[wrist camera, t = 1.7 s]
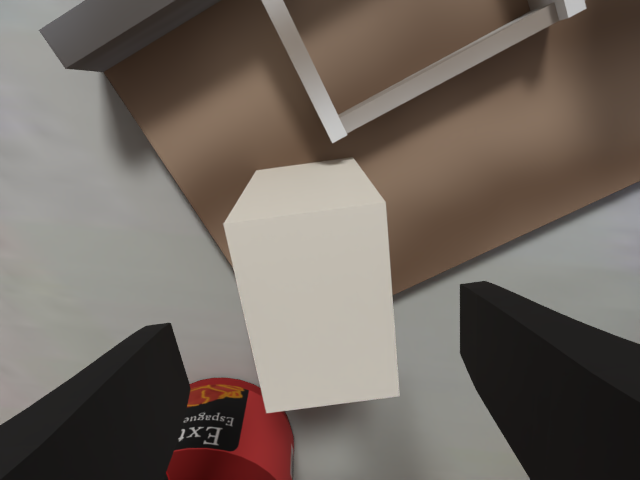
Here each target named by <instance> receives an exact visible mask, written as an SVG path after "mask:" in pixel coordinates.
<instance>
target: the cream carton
mask: <svg viewBox="0 0 640 480" xmlns="http://www.w3.org/2000/svg"><path fill="white" fill-rule="evenodd" d="M223 225H224V229H225V234H226V238H227V242H228V247H229V251H230V256H231V260H232V264H233V269H234V273H235V278H236V282H237V286H238V291H239V295H240V300H241V304H242V308H243V313H244V317H245V322H246V326H247V330H248V335H249V339H250V344H251V348H252V352H253V357H254V361H255V366H256V370H257V374H258V379H259V383H260V387H261V392H262V396H263V401H264V405H265V409H266V413H273V412H281V411H288V410H296V409H304V408H312V407H320V406H327V405H335V404H343V403H351V402H359V401H366V400H374V399H382V398H390V397H398V396H400V394H399V380H398V366H397V352H396V338H395V324H394V310H393V296H392V282H391V268H390V254H389V240H388V227H387V213H386V202H385V200H384V199H383V198H382V196H381V195H380V194H379V192H378V191H377V189H376V188H375V187H374V185H373V184H372V183H371V181H370V180H369V179H368V177H367V176H366V174H365V173H364V172H363V170H362V169H361V168H360V166H359V165H358V163H357V162H356V161H355V159H354V158H353V157H351V158H344V159H337V160H329V161H322V162H314V163H307V164H300V165H292V166H285V167H277V168H270V169H263V170H256V172H255V173H254V175H253V176H252V178H251V180H250V181H249V183H248V185H247V186H246V188H245V189H244V191H243V193H242V194H241V196H240V198H239V199H238V201H237V203H236V204H235V206H234V207H233V209H232V211H231V212H230V214H229V216H228V217H227V219H226V220H225V222H224V224H223Z"/></svg>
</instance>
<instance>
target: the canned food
mask: <svg viewBox="0 0 640 480" xmlns="http://www.w3.org/2000/svg"><path fill="white" fill-rule="evenodd" d="M190 388H191V390H190V395H189V400H188V405H187V410H186V414H185V418H184V422H183V426H182V430H181V433H180V435H179V438H178V441H177V444H176V447H175V449H174V452H173V455H172V458H171V460H170V463H169V466H168V469H167V471H166V474H165V477H164V479H163V480H293V462H294V438H293V434H292V430H291V427H290V424H289V421H288V418H287V415H286V413H285V411H281V412H273V413H266V409H265V405H264V401H263V396H262V392H261V388H259V387H257V386H256V385H254V384H251V383H248V382H245V381H242V380H238V379H231V378H210V379H205V380H200V381H197V382H194V383H192V384H190Z"/></svg>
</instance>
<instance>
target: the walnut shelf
mask: <svg viewBox="0 0 640 480" xmlns="http://www.w3.org/2000/svg"><path fill="white" fill-rule="evenodd" d="M39 31H40V33H41V34H42V35H43V37H44V38H45V40H46V41H47V43H48V44H49V46H50V47H51V48H52V50H53V51H54V53H55V54H56V56H57V57H58V59H59V60H60V61H61V63H62V64H63V66H64V67H65V69H76V70H86V71H97V72H104V74H105V75H106V77H107V78H108V80H109V81H110V83H111V84H112V86H113V87H114V89H115V90H116V92H117V93H118V95H119V96H120V98H121V99H122V101H123V102H124V104H125V105H126V107H127V109H128V110H129V112H130V113H131V115H132V116H133V118H134V119H135V121H136V122H137V124H138V125H139V127H140V128H141V130H142V131H143V133H144V134H145V136H146V137H147V139H148V140H149V142H150V143H151V145H152V146H153V148H154V149H155V151H156V152H157V154H158V155H159V157H160V158H161V160H162V161H163V163H164V164H165V166H166V167H167V169H168V170H169V172H170V173H171V175H172V177H173V178H174V180H175V181H176V183H177V184H178V186H179V187H180V189H181V190H182V192H183V193H184V195H185V196H186V198H187V199H188V201H189V202H190V204H191V205H192V207H193V208H194V210H195V211H196V213H197V214H198V216H199V217H200V219H201V220H202V222H203V223H204V225H205V226H206V228H207V229H208V231H209V232H210V234H211V235H212V237H213V238H214V240H215V241H216V243H217V244H218V246H219V248H220V249H221V251H222V252H223V254H224V255H225V257H226V258H227V260H228V261H229V263H230V264H231V266H232V267H233V264H232V260H231V256H230V251H229V247H228V242H227V238H226V234H225V229H224V225H223V224H224V222H225V220H226V219H227V217H228V216H229V214H230V212H231V211H232V209H233V207H234V206H235V204H236V203H237V201H238V199H239V198H240V196H241V194H242V193H243V191H244V189H245V188H246V186H247V185H248V183H249V181H250V180H251V178H252V176H253V175H254V173H255V172H256V170H263V169H270V168H277V167H285V166H292V165H300V164H307V163H314V162H322V161H329V160H337V159H344V158H351V157H353V158H354V159H355V161H356V162H357V163H358V165H359V166H360V168H361V169H362V170H363V172H364V173H365V174H366V176H367V177H368V179H369V180H370V181H371V183H372V184H373V185H374V187H375V188H376V189H377V191H378V192H379V194H380V195H381V196H382V198H383V199H384V200H385V202H386V213H387V227H388V240H389V254H390V268H391V282H392V295H395V294H397V293H399V292H401V291H403V290H405V289H407V288H410V287H412V286H414V285H416V284H418V283H420V282H423V281H425V280H427V279H429V278H431V277H433V276H436V275H438V274H440V273H442V272H444V271H446V270H448V269H451V268H453V267H455V266H457V265H459V264H461V263H464V262H466V261H468V260H470V259H472V258H474V257H477V256H479V255H481V254H483V253H485V252H487V251H490V250H492V249H494V248H496V247H498V246H500V245H502V244H505V243H507V242H509V241H511V240H513V239H515V238H518V237H520V236H522V235H524V234H526V233H528V232H531V231H533V230H535V229H537V228H539V227H541V226H543V225H546V224H548V223H550V222H552V221H554V220H556V219H559V218H561V217H563V216H565V215H567V214H569V213H572V212H574V211H576V210H578V209H580V208H582V207H584V206H587V205H589V204H591V203H593V202H595V201H597V200H600V199H602V198H604V197H606V196H608V195H610V194H613V193H615V192H617V191H619V190H621V189H623V188H626V187H628V186H630V185H632V184H634V183H636V182H638V181H640V0H85V1H83V2H82V3H80V4H79V5H77V6H76V7H74V8H73V9H71V10H70V11H68V12H66V13H65V14H63V15H62V16H60V17H59V18H57V19H56V20H54V21H52V22H51V23H49V24H48V25H46V26H45V27H43V28H42V29H40V30H39Z"/></svg>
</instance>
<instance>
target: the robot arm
mask: <svg viewBox="0 0 640 480" xmlns="http://www.w3.org/2000/svg"><path fill="white" fill-rule="evenodd" d="M460 354H461V357H462V359H463V361H464V364H465V366H466V368H467V371H468V373H469V375H470V377H471V380H472V382H473V384H474V386H475V388H476V390H477V392H478V394H479V395H480V397H481V399H482V401H483V402H484V404H485V406H486V407H487V409H488V411H489V412H490V414H491V416H492V417H493V419H494V421H495V422H496V424H497V425H498V427H499V429H500V430H501V432H502V434H503V435H504V437H505V439H506V440H507V442H508V443H509V445H510V447H511V448H512V450H513V452H514V453H515V455H516V457H517V458H518V460H519V462H520V463H521V465H522V466H523V468H524V470H525V471H526V473H527V475H528V476H529V478H530V480H640V344H637V343H635V342H632V341H629V340H626V339H623V338H621V337H618V336H615V335H613V334H610V333H607V332H605V331H602V330H600V329H597V328H595V327H592V326H589V325H587V324H584V323H582V322H579V321H577V320H575V319H572V318H570V317H567V316H565V315H563V314H560V313H558V312H556V311H554V310H551V309H549V308H547V307H544V306H542V305H540V304H538V303H536V302H533V301H531V300H529V299H527V298H524V297H522V296H520V295H518V294H516V293H513V292H511V291H509V290H507V289H504V288H502V287H500V286H497V285H495V284H492V283H489V282H486V281H482V282H474V283H466V284H460ZM190 390H191V388H190V384H189V381H188V378H187V375H186V371H185V368H184V365H183V362H182V358H181V355H180V352H179V349H178V345H177V342H176V339H175V336H174V332H173V329H172V326H171V323H164V324H157V325H149V326H145V327H144V328H142V329H140V330H138V331H137V332H135V333H134V334H132V335H131V336H129V337H128V338H126V339H125V340H123V341H122V342H121V343H119V344H118V345H116V346H115V347H114V348H112V349H111V350H109V351H108V352H107V353H105V354H104V355H103V356H101V357H100V358H98V359H97V360H96V361H94V362H93V363H91V364H90V365H89V366H87V367H86V368H85V369H83V370H82V371H80V372H79V373H78V374H76V375H75V376H74V377H72V378H71V379H69V380H68V381H66V382H65V383H63V384H62V385H60V386H59V387H58V388H56V389H55V390H53V391H52V392H50V393H49V394H47V395H46V396H44V397H43V398H41V399H40V400H38V401H37V402H35V403H34V404H33V405H31V406H30V407H28V408H27V409H25V410H24V411H22V412H21V413H19V414H17V415H16V416H14V417H13V418H11V419H10V420H8V421H6V422H5V423H3V424H2V425H0V480H163V479H164V477H165V474H166V471H167V469H168V466H169V463H170V460H171V458H172V455H173V452H174V449H175V447H176V444H177V441H178V438H179V435H180V433H181V430H182V426H183V422H184V418H185V414H186V410H187V405H188V400H189V395H190Z"/></svg>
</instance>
